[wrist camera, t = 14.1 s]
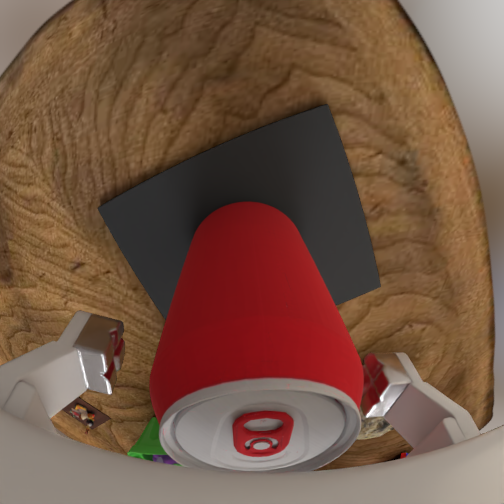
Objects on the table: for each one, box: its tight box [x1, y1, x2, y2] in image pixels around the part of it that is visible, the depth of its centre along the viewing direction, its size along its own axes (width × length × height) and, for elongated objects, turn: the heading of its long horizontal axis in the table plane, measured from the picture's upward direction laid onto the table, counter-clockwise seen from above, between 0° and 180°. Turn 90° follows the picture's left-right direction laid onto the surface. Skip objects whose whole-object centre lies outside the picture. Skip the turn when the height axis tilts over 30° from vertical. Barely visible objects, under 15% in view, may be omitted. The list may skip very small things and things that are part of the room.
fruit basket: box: [127, 417, 182, 466], centre depth 21 cm, size 11×9×11 cm
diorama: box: [62, 397, 111, 434], centre depth 24 cm, size 3×4×2 cm
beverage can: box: [149, 202, 364, 473], centre depth 12 cm, size 6×6×12 cm
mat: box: [98, 104, 381, 320], centre depth 17 cm, size 14×12×1 cm
